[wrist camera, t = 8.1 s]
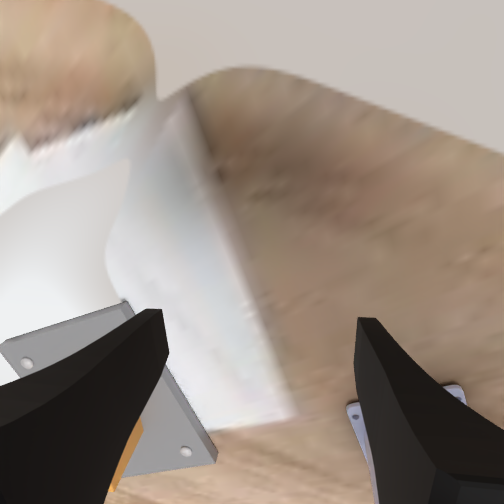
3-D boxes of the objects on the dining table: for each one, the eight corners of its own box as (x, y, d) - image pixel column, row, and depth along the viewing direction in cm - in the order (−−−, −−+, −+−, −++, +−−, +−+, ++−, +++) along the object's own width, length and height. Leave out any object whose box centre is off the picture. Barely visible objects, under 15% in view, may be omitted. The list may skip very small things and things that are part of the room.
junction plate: (218, 452, 31) (204, 507, 27) (107, 470, 34) (80, 521, 30) (127, 301, 26) (92, 340, 22) (6, 339, 29) (-44, 380, 25)
